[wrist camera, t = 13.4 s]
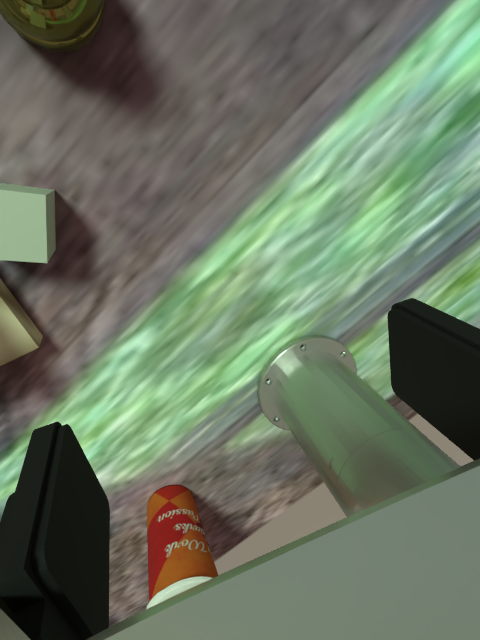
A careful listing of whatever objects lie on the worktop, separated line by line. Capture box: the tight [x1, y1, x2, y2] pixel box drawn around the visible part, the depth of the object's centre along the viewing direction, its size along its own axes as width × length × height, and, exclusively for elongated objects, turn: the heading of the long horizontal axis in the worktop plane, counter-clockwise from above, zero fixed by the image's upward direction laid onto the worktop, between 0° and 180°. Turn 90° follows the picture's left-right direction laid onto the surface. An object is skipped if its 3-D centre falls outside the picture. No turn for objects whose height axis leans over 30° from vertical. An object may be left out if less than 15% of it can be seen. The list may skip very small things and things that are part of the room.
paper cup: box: [147, 485, 218, 609], centre depth 42 cm, size 8×8×14 cm
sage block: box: [0, 183, 56, 263], centre depth 30 cm, size 5×5×5 cm
